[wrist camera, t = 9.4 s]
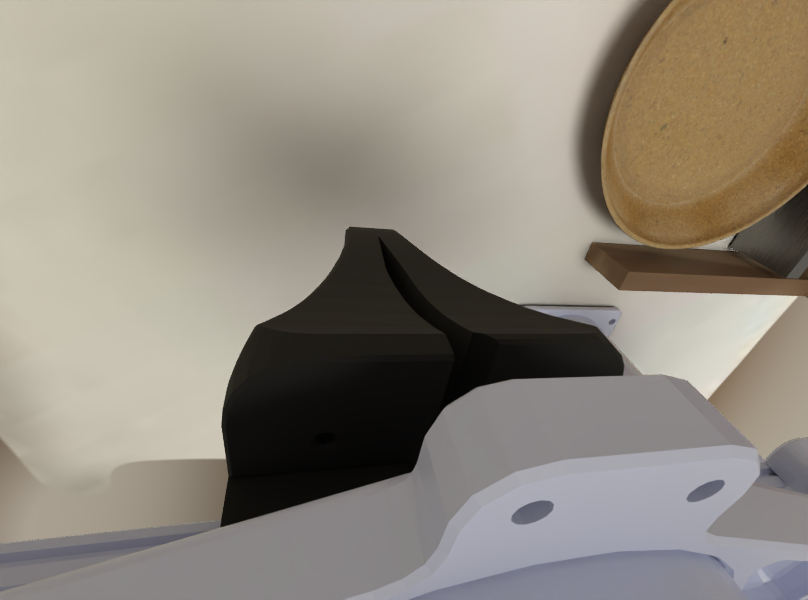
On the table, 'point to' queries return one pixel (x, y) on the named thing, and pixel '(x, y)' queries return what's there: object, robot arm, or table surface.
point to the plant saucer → (709, 122)
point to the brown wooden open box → (689, 271)
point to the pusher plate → (779, 238)
